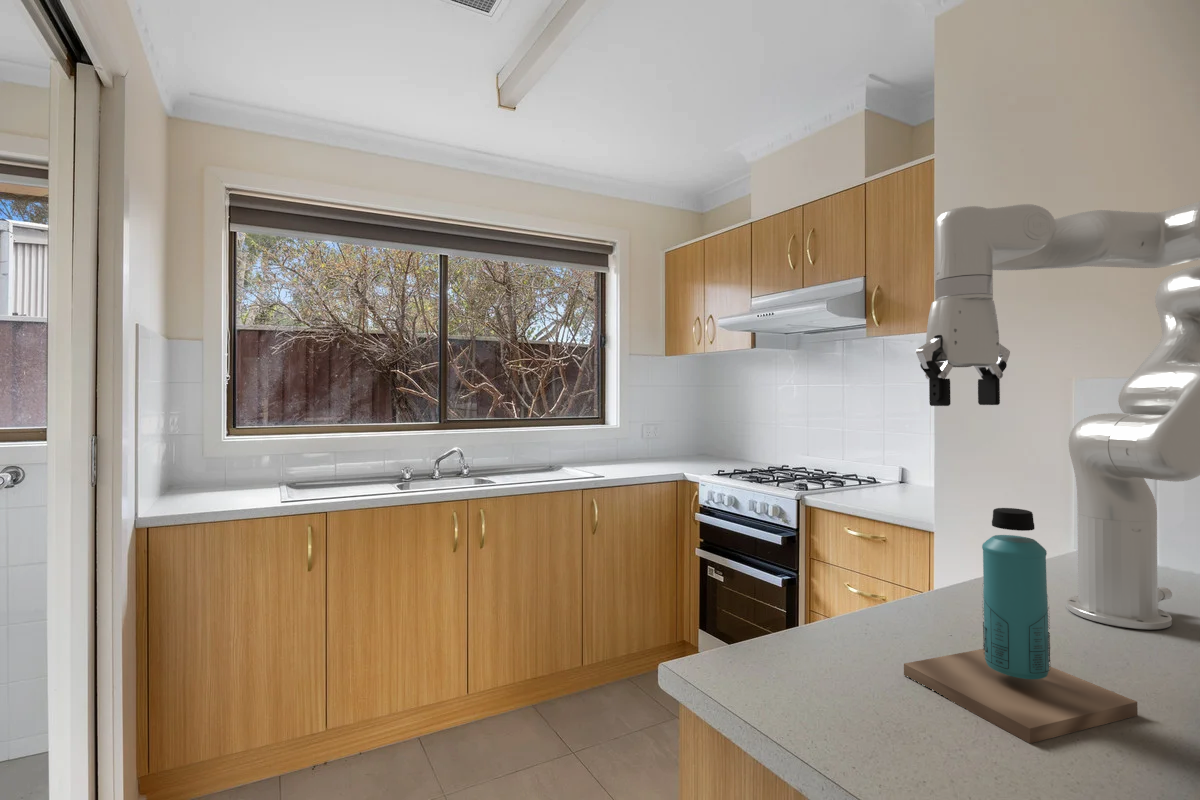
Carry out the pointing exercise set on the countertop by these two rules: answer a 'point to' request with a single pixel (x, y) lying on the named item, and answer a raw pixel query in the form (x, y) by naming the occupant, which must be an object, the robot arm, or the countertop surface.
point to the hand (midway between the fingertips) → (964, 405)
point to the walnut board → (1021, 696)
